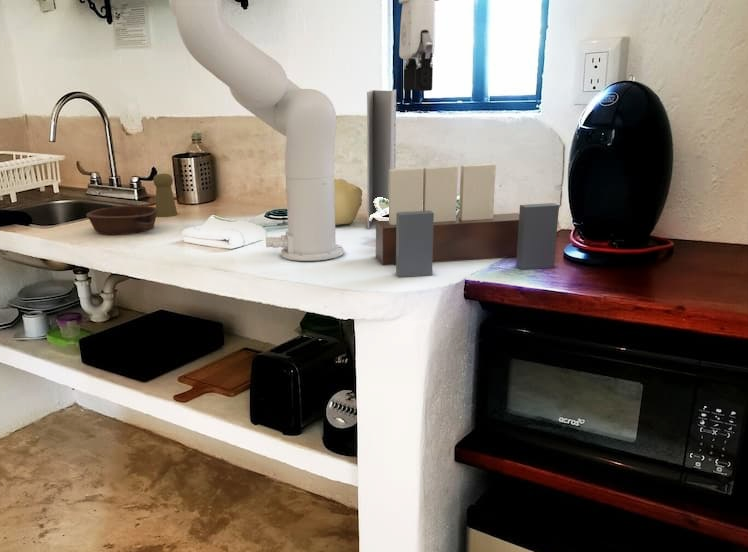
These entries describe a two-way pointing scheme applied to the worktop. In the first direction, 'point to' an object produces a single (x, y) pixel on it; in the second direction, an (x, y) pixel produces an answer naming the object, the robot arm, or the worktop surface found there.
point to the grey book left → (414, 243)
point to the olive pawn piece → (164, 195)
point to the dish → (123, 219)
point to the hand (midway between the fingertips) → (417, 90)
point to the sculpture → (346, 201)
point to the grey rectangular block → (537, 235)
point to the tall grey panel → (380, 144)
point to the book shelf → (459, 239)
